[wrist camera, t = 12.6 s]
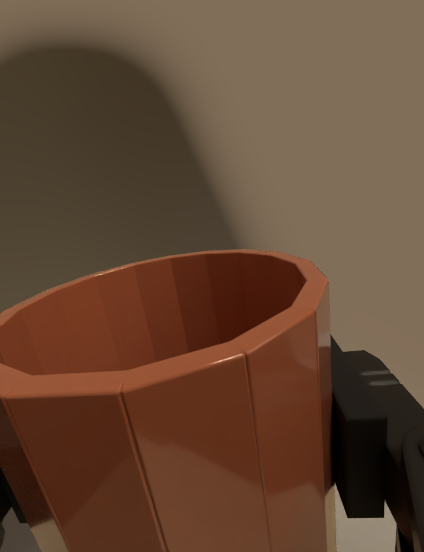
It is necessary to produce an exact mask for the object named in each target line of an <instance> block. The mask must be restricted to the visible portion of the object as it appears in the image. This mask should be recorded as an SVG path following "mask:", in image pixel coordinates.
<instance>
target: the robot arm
mask: <svg viewBox="0 0 424 552" xmlns="http://www.w3.org/2000/svg"><path fill="white" fill-rule="evenodd" d="M330 344H331V377H332V410H333V443H334V476H335V484H336V486H337V489H338V492H339V495H340V498H341V501H342V503H343V506H344V509H345V512H346V515H347V518H384V503H385V501H386V503H387V505H388V507H389V509H390V511H391V513H392V515H393V517H394V519H395V521H396V523H397V529H396V546H395V552H424V409H423V408H422V406H421V405H420V404H419V403H418V402H417V401H416V400H415V399H414V397H413V396H412V395H411V394H410V393H409V392H408V391H407V390H406V388H405V387H404V386H403V385H402V384H400V383H399V380H398V379H397V378H396V377H395V376H394V375H393V374H391V373H390V370H389V369H388V368H387V367H386V366H385V365H384V364H383V362H382V361H381V360H380V359H378V358H377V357H375V356H373V355H372V354H370V353H368V352H366V351H365V350H362V351H349V352H342V350H341V349H340V347H339V346H338V345H337V343H336V342H335V340H334V339H333V337H332V336H331V334H330ZM11 507H12V508H13V510H14V512H15V514H16V516H17V519H18V521H19V523H28V522H27V520H26V518H25V516H24V514H23V512H22V510H21V508H20V506H19V504H18V502H17V500H16V498H15V496H14V494H13V491H12V489H11V487H10V485H9V483H8V481H7V479H6V477H5V475H4V473H3V471H2V469H1V467H0V549H1V546H2V544H3V540H4V535H5V530H4V527H3V525H2V523H1V521H2V520H3V519H4V517H5V516H6V514H7V513H8V512H9V510H10V509H11Z"/></svg>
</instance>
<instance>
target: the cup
mask: <svg viewBox="0 0 424 552" xmlns="http://www.w3.org/2000/svg"><path fill="white" fill-rule="evenodd" d="M329 312H330V311H329V282H328V279H327V277H326V276H325V275H324V274H323V273H322V272H321V271H320V270H319V269H318V268H317V267H316V266H315V265H314V264H313V263H312V262H311V261H309V260H306V259H302V258H299V257H296V256H292V255H289V254H286V253H282V252H274V251H262V250H248V249H246V250H245V249H239V250H214V251H202V252H195V253H187V254H179V255H172V256H165V257H161V258H155V259H150V260H145V261H140V262H135V263H132V264H127V265H123V266H119V267H116V268H112V269H108V270H105V271H101V272H97V273H94V274H91V275H87V276H85V277H82V278H79V279H76V280H73V281H70V282H68V283H65V284H62V285H59V286H57V287H54V288H51V289H48V290H47V291H44V292H42V293H40V294H38V295H36V296H34V297H32V298H29V299H27V300H25V301H23V302H22V303H19V304H17V305H15V306H13V307H11V308H9V309H7V310H5V311H4V312H2V313H0V467H1V469H2V471H3V473H4V475H5V477H6V479H7V481H8V483H9V485H10V487H11V489H12V491H13V494H14V496H15V498H16V500H17V502H18V504H19V506H20V508H21V510H22V512H23V514H24V516H25V518H26V520H27V522H28V524H29V527H30V529H31V531H32V533H33V535H34V537H35V539H36V541H37V543H38V545H39V547H40V549H41V551H42V552H337V543H336V509H335V476H334V443H333V410H332V377H331V344H330V313H329Z"/></svg>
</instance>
